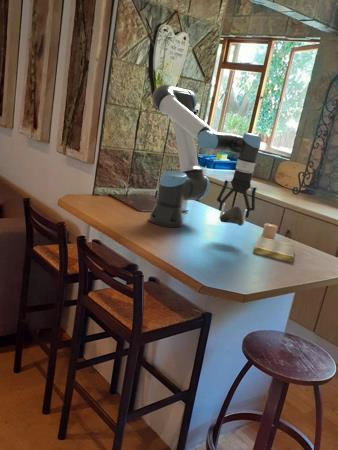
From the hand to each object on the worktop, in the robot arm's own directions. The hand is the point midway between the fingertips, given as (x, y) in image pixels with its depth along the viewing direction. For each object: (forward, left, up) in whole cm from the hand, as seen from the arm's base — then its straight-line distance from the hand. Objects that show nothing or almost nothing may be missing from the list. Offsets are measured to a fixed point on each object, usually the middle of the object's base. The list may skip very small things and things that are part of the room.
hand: (231, 221), depth 192 cm
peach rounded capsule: (+17, +17, -9) cm, 25 cm away
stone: (0, -1, -1) cm, 1 cm away
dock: (+21, 0, -9) cm, 22 cm away
